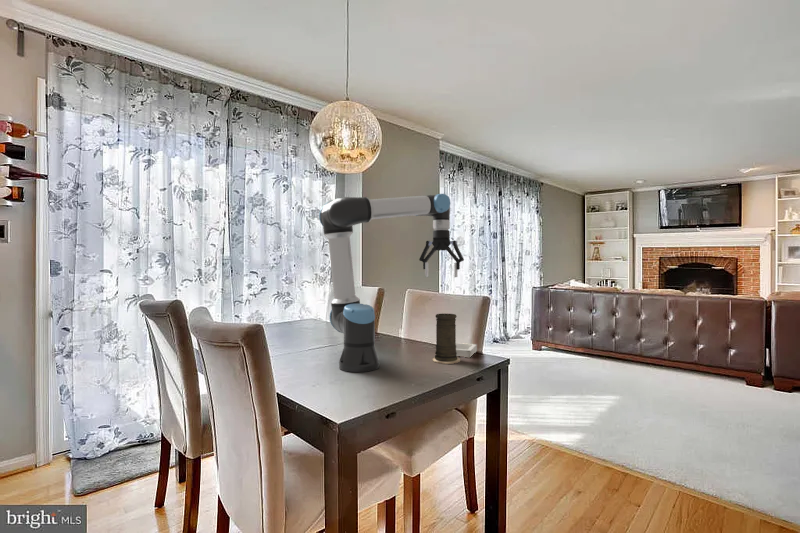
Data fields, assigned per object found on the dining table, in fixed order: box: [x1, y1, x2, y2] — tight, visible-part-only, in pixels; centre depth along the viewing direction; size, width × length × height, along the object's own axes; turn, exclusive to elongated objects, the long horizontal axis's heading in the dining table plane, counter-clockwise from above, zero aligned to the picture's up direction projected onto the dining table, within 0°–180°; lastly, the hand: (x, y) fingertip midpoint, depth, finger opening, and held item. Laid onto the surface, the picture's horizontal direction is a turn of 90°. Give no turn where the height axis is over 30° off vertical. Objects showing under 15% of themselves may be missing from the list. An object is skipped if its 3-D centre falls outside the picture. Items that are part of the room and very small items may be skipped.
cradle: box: [456, 342, 478, 358], centre depth 182 cm, size 11×14×3 cm
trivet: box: [432, 356, 461, 365], centre depth 169 cm, size 11×11×1 cm
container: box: [434, 313, 458, 362], centre depth 169 cm, size 9×9×18 cm
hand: (441, 277), depth 190 cm, fingers open, 13 cm apart
